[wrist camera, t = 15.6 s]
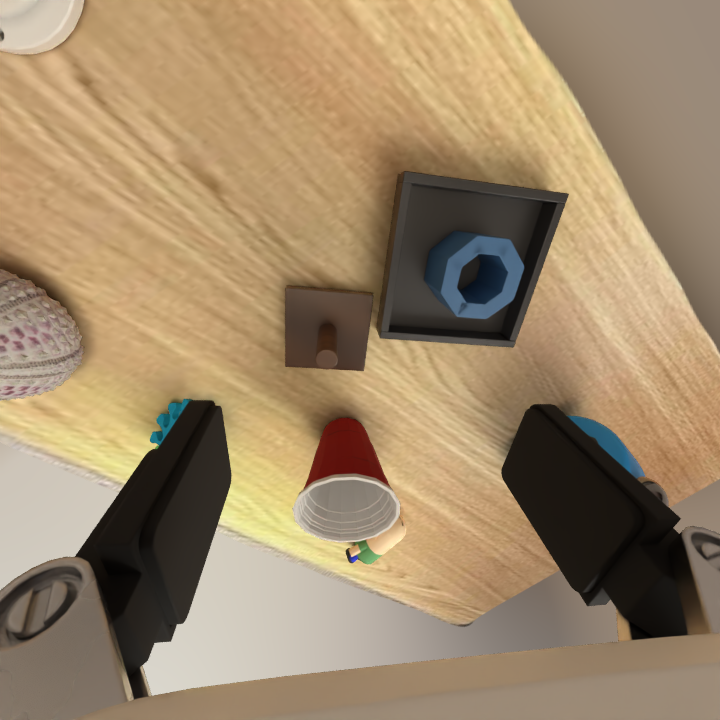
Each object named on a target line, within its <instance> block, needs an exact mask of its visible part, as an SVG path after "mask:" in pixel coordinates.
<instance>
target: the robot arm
mask: <svg viewBox="0 0 720 720" xmlns="http://www.w3.org/2000/svg"><path fill="white" fill-rule="evenodd" d="M83 5H84V0H0V51H4V52H9V53H13V54H38V53H41V52H45V51H49V50H51V49H53V48H54V47H56V46H57V45H59V44H61V43H62V42H64V41H65V39H66V38H67V37H68V36H69V35H70V33H71V32H72V31H73V30H74V29H75V26H76V24H77V22H78V20H79V18H80V16H81V13H82V9H83ZM502 478H503V480H504V482H505V483H506V485H507V487H508V488H509V490H510V491H511V493H512V494H513V496H514V498H515V499H516V501H517V502H518V504H519V505H520V507H521V509H522V510H523V512H524V513H525V515H526V516H527V518H528V520H529V521H530V523H531V524H532V526H533V528H534V529H535V531H536V532H537V534H538V535H539V537H540V539H541V540H542V542H543V543H544V545H545V546H546V548H547V550H548V551H549V553H550V554H551V556H552V557H553V559H554V561H555V562H556V564H557V565H558V567H559V568H560V570H561V572H562V573H563V575H564V576H565V578H566V579H567V581H568V582H569V584H570V586H571V587H572V588H573V589H574V590H575V591H577V592H579V594H580V595H581V597H582V599H583V600H584V602H585V603H586V605H587V606H595V605H605V604H607V603H608V601H609V600H610V599H611V600H612V602H613V603H614V605H615V606H616V616H617V629H618V642H609V643H599V644H588V645H578V646H568V647H558V648H548V649H539V650H528V651H518V652H509V653H499V654H489V655H479V656H470V657H461V658H451V659H441V660H431V661H421V662H412V663H403V664H394V665H385V666H375V667H366V668H357V669H348V670H339V671H330V672H321V673H311V674H302V675H292V676H284V677H276V678H268V679H260V680H253V681H245V682H237V683H230V684H222V685H215V686H207V687H200V688H191V689H186V690H181V691H176V692H170V693H165V694H159V695H154V696H152V695H151V692H150V689H149V685H148V682H147V679H146V676H145V672H144V669H143V666H142V665H143V664H144V663H145V662H147V661H148V658H149V656H150V653H151V650H152V648H153V645H154V643H157V642H169V641H171V640H172V637H173V634H174V631H175V628H176V625H177V624H182V623H184V621H185V620H186V618H187V615H188V613H189V610H190V607H191V604H192V601H193V598H194V595H195V592H196V588H197V586H198V583H199V580H200V576H201V573H202V570H203V567H204V564H205V561H206V558H207V555H208V552H209V549H210V546H211V543H212V540H213V537H214V534H215V531H216V528H217V525H218V522H219V519H220V515H221V512H222V509H223V506H224V503H225V500H226V497H227V494H228V491H229V488H230V484H231V468H230V461H229V454H228V448H227V441H226V434H225V428H224V421H223V414H222V408H221V406H215V403H214V401H207V400H191V401H189V402H188V404H187V405H186V407H185V408H184V410H183V411H182V413H181V414H180V416H179V417H178V419H177V420H176V422H175V423H174V425H173V426H172V428H171V429H170V431H169V432H168V434H167V435H166V437H165V438H164V440H163V441H162V443H161V444H160V446H159V447H158V449H153V450H151V451H149V452H148V453H147V454H146V455H145V457H144V458H143V460H142V461H141V462H140V464H139V465H138V467H137V468H136V470H135V471H134V473H133V474H132V475H131V477H130V478H129V480H128V481H127V483H126V484H125V485H124V487H123V488H122V490H121V491H120V493H119V494H118V496H117V497H116V499H115V500H114V502H113V503H112V504H111V506H110V507H109V508H108V510H107V511H106V513H105V514H104V516H103V517H102V518H101V520H100V522H99V523H98V524H97V526H96V527H95V529H94V530H93V531H92V533H91V534H90V536H89V537H88V539H87V540H86V542H85V543H84V544H83V546H82V547H81V549H80V550H79V552H78V553H77V554H76V556H75V557H63V558H58V559H54V560H50V561H47V562H45V563H43V564H40V565H38V566H36V567H34V568H31V569H30V570H28V571H27V572H25V573H23V574H22V575H20V576H18V577H17V578H15V579H14V580H13V581H11V582H10V583H9V584H8V585H6V586H5V587H4V588H3V589H1V590H0V720H720V534H718V533H716V532H714V531H711V530H708V529H705V528H702V527H695V526H690V527H686V528H685V529H684V530H683V531H682V532H681V533H680V534H679V533H678V532H677V531H676V530H675V529H673V527H674V526H675V525H676V524H677V523H678V522H679V520H680V517H679V516H677V515H676V514H675V513H674V512H673V511H672V510H671V509H670V508H669V507H668V506H666V505H665V504H664V503H663V502H662V501H661V500H660V499H659V498H657V497H656V496H655V495H654V494H653V493H652V492H651V491H650V490H649V489H647V488H646V487H645V486H644V485H643V484H642V483H641V482H640V481H639V480H637V479H636V478H635V477H634V476H633V475H632V474H631V473H630V472H629V471H627V470H626V469H625V468H624V467H623V466H622V465H621V464H620V463H619V462H617V461H616V460H615V459H614V458H613V457H612V456H611V455H610V454H609V453H607V452H606V451H605V450H604V449H603V448H602V447H601V446H600V445H599V444H597V443H596V442H595V441H594V440H593V439H592V438H591V437H590V436H589V435H587V434H586V433H585V432H584V431H583V430H582V429H581V428H580V427H579V426H577V425H576V424H575V423H574V422H573V421H572V420H571V419H570V418H569V417H567V416H566V415H565V414H564V413H563V412H562V411H561V410H560V409H559V408H557V407H556V406H555V405H551V404H534V405H532V406H531V407H530V409H528V410H526V412H525V414H524V416H523V419H522V421H521V424H520V426H519V428H518V431H517V433H516V436H515V438H514V440H513V443H512V445H511V448H510V450H509V453H508V455H507V457H506V460H505V462H504V465H503V467H502Z"/></svg>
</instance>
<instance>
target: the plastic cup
mask: <svg viewBox="0 0 720 720" xmlns="http://www.w3.org/2000/svg"><path fill="white" fill-rule="evenodd" d="M293 513H294V518H295V522H296V523H297V524H298V525H299V526H300V527H301V528H302V529H303V530H304V531H305V532H306V533H309V534H311V535H313V536H315V537H317V538H319V539H322V540H328V541H334V542H359V541H362V540H366V539H369V538H373V537H376V536H378V535H380V534H382V533H383V532H385V531H386V530H388V529H390V528H391V527H392V526H393V524H394V523H395V522H396V520H397V519H398V517H399V515H400V502H399V500H398V498H397V496H396V495H395V493H394V491H393V490H392V488H391V487H390V486H389V484H388V481H387V479H386V477H385V475H384V473H383V470H382V468H381V465H380V463H379V460H378V458H377V455H376V453H375V450H374V448H373V445H372V444H371V442H370V440H369V437H368V434H367V432H366V430H365V429H364V427H363V426H362V424H361V423H359V422H358V421H357V420H355V419H351V418H338V419H336V420H333V421H331V422H330V423H329V424H328V425H327V426H326V427H325V429H324V431H323V433H322V436H321V439H320V443H319V446H318V448H317V451H316V454H315V457H314V461H313V464H312V467H311V471H310V474H309V477H308V480H307V482H306V485H305V487H304V489H303V490H302V491H301V492H300V493H299V495H298V497H297V500H296V502H295V504H294V506H293Z"/></svg>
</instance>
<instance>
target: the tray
mask: <svg viewBox="0 0 720 720" xmlns="http://www.w3.org/2000/svg"><path fill="white" fill-rule="evenodd" d="M568 195H569V194H567V193H560V192H553V191H546V190H538V189H531V188H524V187H517V186H509V185H502V184H495V183H488V182H480V181H473V180H466V179H459V178H451V177H444V176H437V175H429V174H422V173H415V172H408V171H404V172H402V173H400V174H398V179H397V186H396V193H395V200H394V207H393V214H392V222H391V229H390V236H389V243H388V250H387V257H386V265H385V272H384V279H383V286H382V293H381V300H380V308H379V315H378V322H377V331H378V334H379V337H380V338H383V339H398V340H412V341H427V342H441V343H456V344H470V345H485V346H499V347H514V345H515V342H516V339H517V337H518V334H519V331H520V328H521V325H522V323H523V320H524V317H525V314H526V312H527V309H528V306H529V303H530V300H531V298H532V295H533V292H534V289H535V287H536V284H537V281H538V278H539V275H540V273H541V270H542V267H543V264H544V262H545V259H546V256H547V253H548V250H549V248H550V245H551V242H552V239H553V237H554V234H555V231H556V228H557V225H558V223H559V220H560V217H561V214H562V212H563V209H564V206H565V203H566V201H567V198H568ZM453 231H461V232H470V233H479V234H485V235H491V236H496V237H502V238H507V239H510V240H511V242H512V243H513V245H514V247H515V249H516V251H517V253H518V255H519V257H520V259H521V261H522V263H523V265H524V270H523V273H522V276H521V279H520V282H519V285H518V288H517V291H516V294H515V297H514V299H513V300H512V301H511V302H510V303H508V304H507V305H505V306H504V307H503V308H501V309H500V310H498V311H497V312H496V313H494V314H493V315H491V316H490V317H489V318H487V319H478V318H466V317H457V316H455V315H454V314H453V313H452V312H451V311H450V310H449V309H447V308H446V307H445V306H444V305H443V304H442V303H441V302H440V301H438V299H437V298H436V296H435V295H434V294H433V292H432V291H431V289H430V288H429V286H428V285H427V284H426V282H425V281H424V277H425V272H426V267H427V261H428V256H429V251H430V250H431V249H432V248H434V247H435V246H436V245H437V244H438V243H440V242H441V241H442V240H443V239H445V238H446V237H447V236H448V235H450V234H451V233H452V232H453ZM480 264H481V261H480V259H479V258H478V256H476V257H475V258H473V259H472V260H471V261H469V262H468V263H467V264H466V265H464V266H463V267H462V269H461V273H460V277H459V281H458V285H457V289H461V290H463V289H464V288H465V287H467V286H468V285H469V284H470V283H472V282H473V281H474V280H476V279H477V275H478V271H479V268H480Z"/></svg>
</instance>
